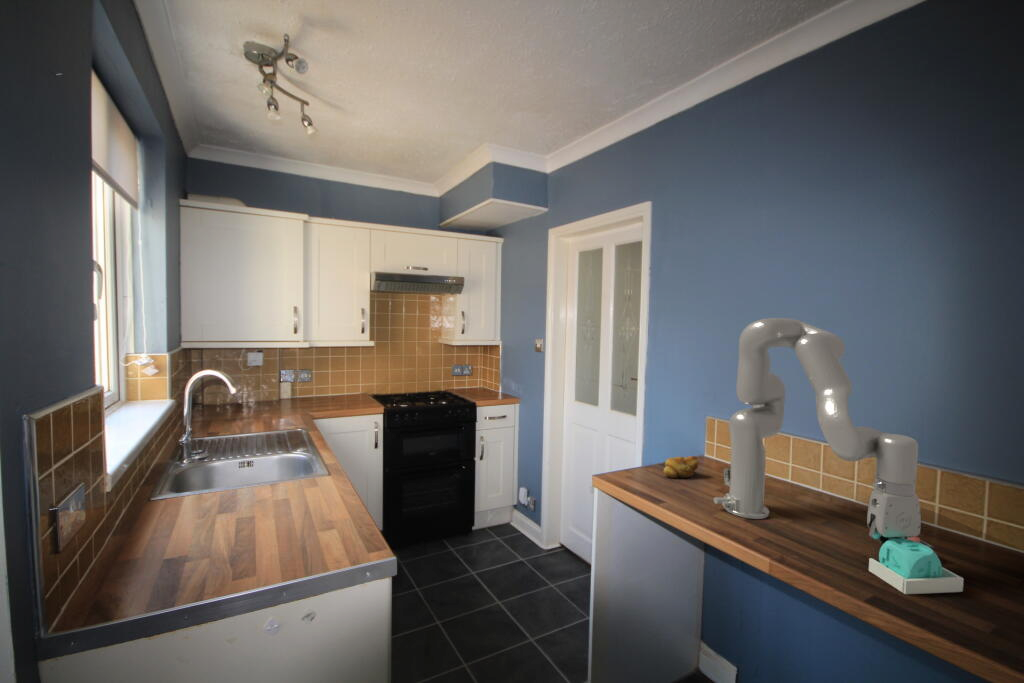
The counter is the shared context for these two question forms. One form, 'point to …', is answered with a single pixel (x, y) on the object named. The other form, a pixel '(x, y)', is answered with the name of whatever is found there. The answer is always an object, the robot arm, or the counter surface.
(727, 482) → the egg carton
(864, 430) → the robot arm
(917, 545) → the decorative dice
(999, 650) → the counter surface
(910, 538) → the button
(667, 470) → the bread roll
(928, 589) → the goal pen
